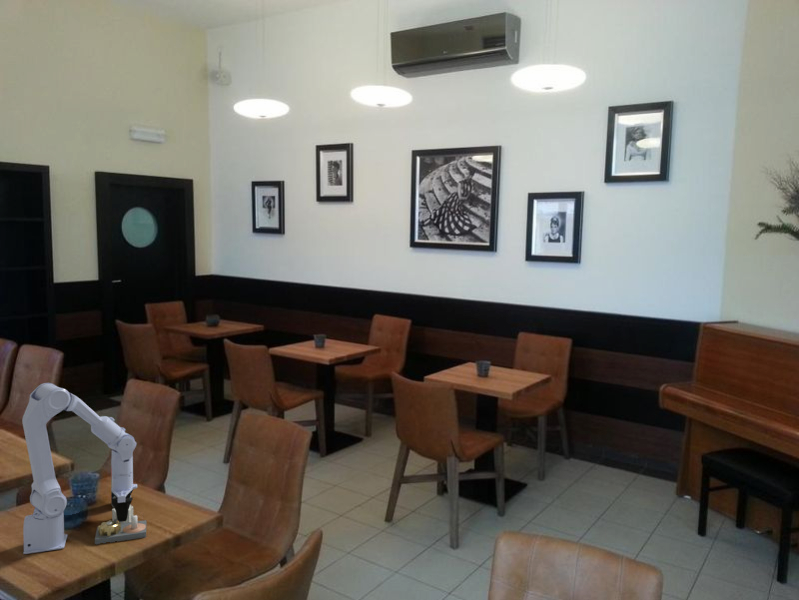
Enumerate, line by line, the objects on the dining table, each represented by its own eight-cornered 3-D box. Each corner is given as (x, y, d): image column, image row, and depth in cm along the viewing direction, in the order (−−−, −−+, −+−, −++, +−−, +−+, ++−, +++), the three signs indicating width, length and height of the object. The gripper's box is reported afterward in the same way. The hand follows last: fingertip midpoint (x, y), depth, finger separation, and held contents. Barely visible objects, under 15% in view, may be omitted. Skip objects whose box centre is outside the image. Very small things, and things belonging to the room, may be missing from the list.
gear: (97, 537, 166) (97, 526, 166) (99, 528, 171) (99, 517, 171) (120, 534, 168) (120, 523, 168) (121, 525, 174) (121, 514, 173)
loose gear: (111, 526, 176) (111, 513, 176) (113, 518, 181) (112, 505, 181) (133, 523, 178) (132, 510, 178) (133, 515, 184) (133, 503, 183)
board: (94, 544, 165) (94, 527, 165) (97, 531, 173) (97, 515, 172) (146, 537, 170) (145, 520, 170) (146, 525, 178) (146, 508, 177)
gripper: (136, 479, 173) (136, 524, 175) (137, 462, 187) (138, 505, 188) (109, 482, 171) (110, 528, 172) (112, 465, 184) (113, 508, 185)
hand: (122, 516), depth 180 cm, fingers closed on loose gear, 6 cm apart
